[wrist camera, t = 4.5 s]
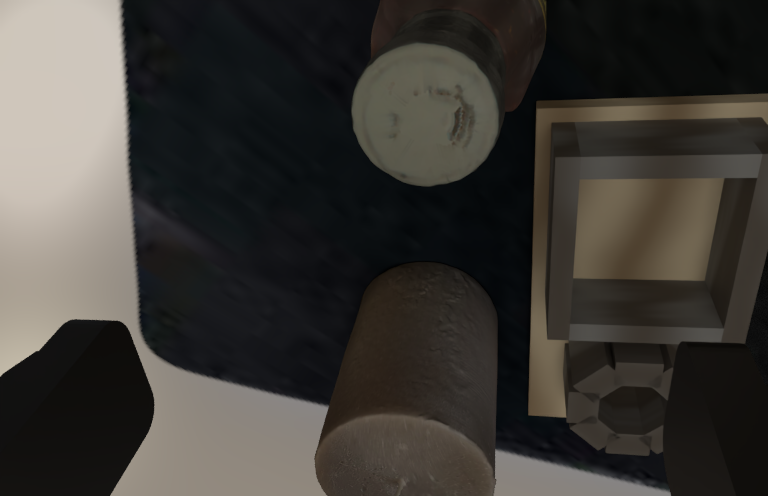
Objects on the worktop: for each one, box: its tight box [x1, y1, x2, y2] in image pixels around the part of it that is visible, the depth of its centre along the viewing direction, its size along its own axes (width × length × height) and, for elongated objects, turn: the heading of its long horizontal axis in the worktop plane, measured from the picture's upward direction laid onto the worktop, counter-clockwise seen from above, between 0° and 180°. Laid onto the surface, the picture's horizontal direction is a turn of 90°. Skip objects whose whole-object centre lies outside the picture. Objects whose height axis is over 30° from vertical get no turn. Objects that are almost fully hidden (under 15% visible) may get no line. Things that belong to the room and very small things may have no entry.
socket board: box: [528, 94, 768, 456], centre depth 39 cm, size 12×23×6 cm, turn 5°
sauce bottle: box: [351, 0, 547, 186], centre depth 26 cm, size 7×6×20 cm
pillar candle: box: [315, 262, 498, 496], centre depth 40 cm, size 10×10×15 cm
